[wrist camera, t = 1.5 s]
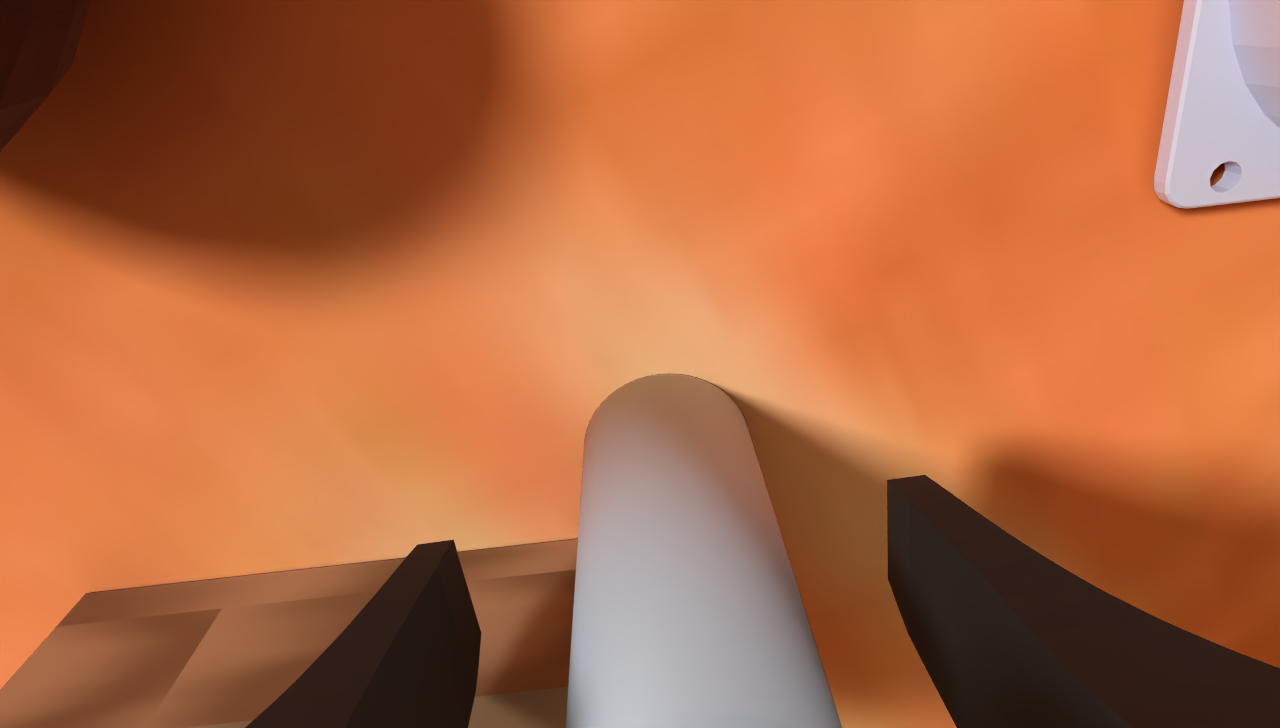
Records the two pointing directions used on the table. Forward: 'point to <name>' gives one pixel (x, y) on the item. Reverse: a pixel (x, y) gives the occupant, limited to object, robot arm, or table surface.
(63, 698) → the walnut block
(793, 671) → the dowel
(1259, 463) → the table surface
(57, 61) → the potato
